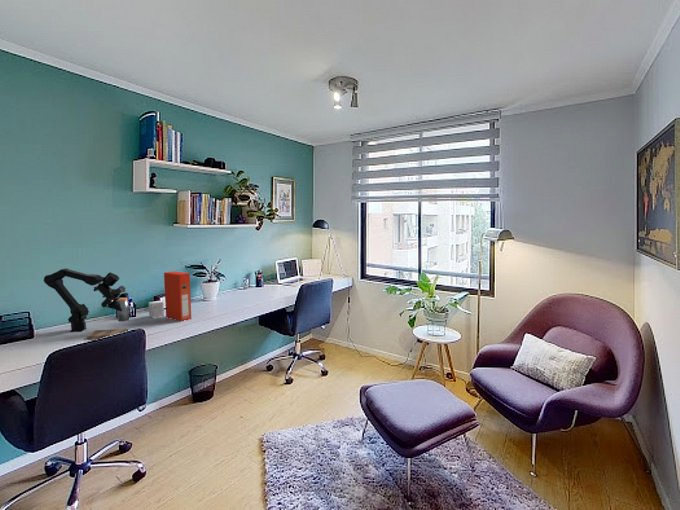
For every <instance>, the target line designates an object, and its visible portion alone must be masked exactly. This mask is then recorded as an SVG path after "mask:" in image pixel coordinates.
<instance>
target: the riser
mask: <svg viewBox="0 0 680 510" xmlns="http://www.w3.org/2000/svg"><path fill="white" fill-rule="evenodd" d="M128 330H130V329H129V328H115V329H114V328H113V329H97V330H94V331H92V332H91V333H89V334H88V335H87V336H86V339H89V340H99V339H98V338H103V337H106V336H110V335H114V334H117V333H122V332H125V331H128Z"/></svg>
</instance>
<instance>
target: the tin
mask: <svg viewBox="0 0 680 510" xmlns="http://www.w3.org/2000/svg"><path fill="white" fill-rule="evenodd" d="M117 304H118V305H119V306H120V307H121V309H122V311H118V310H116V311H117V312H116V313H117V321H118V322H127V321H129V320H130V311H129V310H130V307H129V305H130V304H129V300H127V301H125V302H118V301H117Z"/></svg>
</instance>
